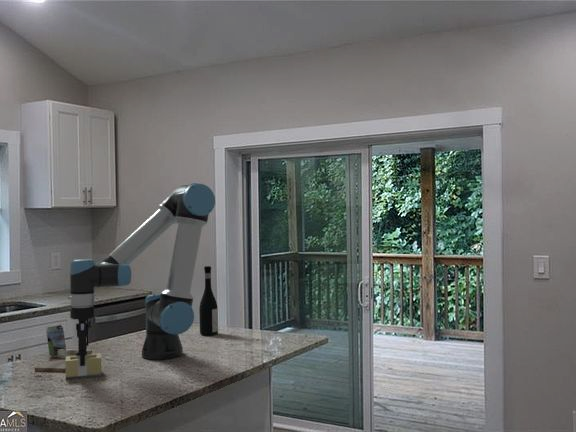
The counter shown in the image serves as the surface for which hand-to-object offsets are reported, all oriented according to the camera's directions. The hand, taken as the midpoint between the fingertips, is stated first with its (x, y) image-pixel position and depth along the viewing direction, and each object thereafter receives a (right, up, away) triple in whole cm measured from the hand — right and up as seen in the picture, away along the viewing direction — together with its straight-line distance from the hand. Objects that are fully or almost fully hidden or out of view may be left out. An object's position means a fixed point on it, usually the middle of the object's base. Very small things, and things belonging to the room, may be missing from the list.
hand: (82, 370), depth 194 cm
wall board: (-11, -2, +13) cm, 17 cm away
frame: (0, -2, 0) cm, 2 cm away
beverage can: (-20, -2, +28) cm, 35 cm away
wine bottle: (+33, -1, +65) cm, 73 cm away
